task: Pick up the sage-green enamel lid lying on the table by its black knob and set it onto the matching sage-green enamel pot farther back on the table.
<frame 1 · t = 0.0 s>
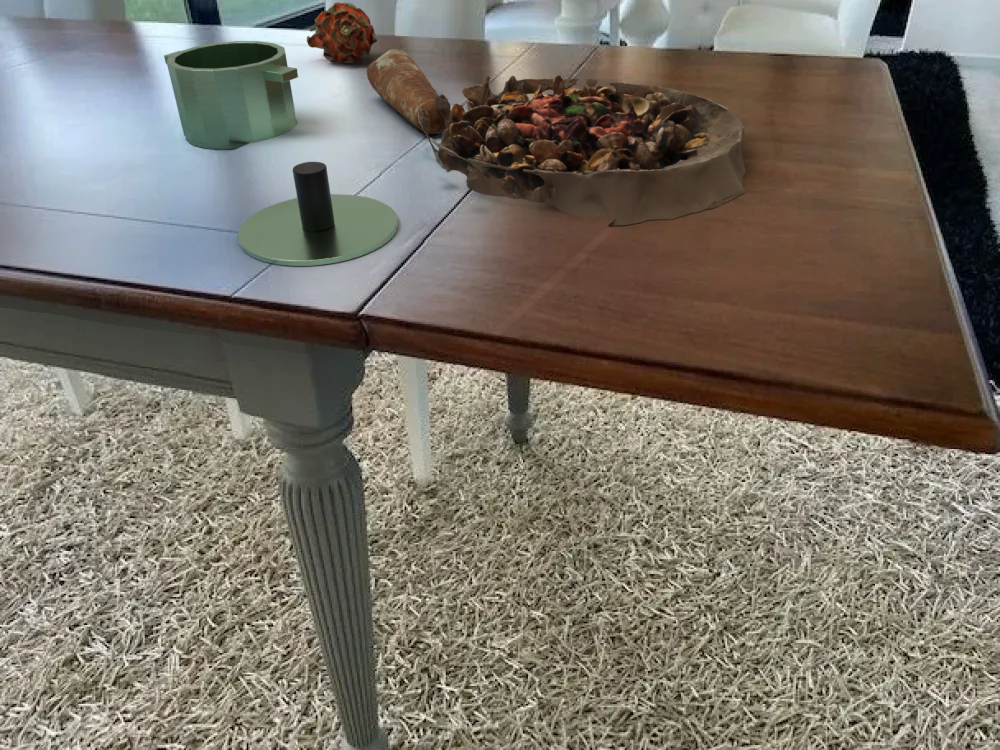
pot: (242, 130, 99), on the table
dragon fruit: (344, 61, 124), on the table
lid: (319, 230, 74), point 1 cm above the table
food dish: (583, 157, 89), on the table, touching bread
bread: (417, 115, 102), on the table, touching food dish
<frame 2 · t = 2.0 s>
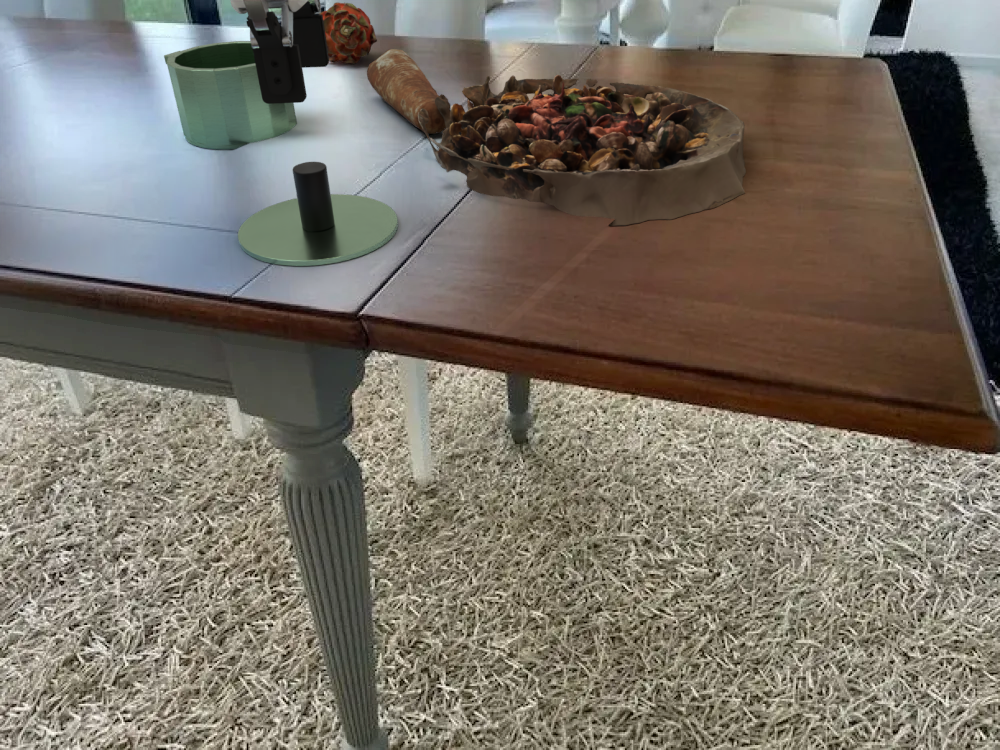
hand: (298, 83, 67), 13 cm above the table, tool pointing down, fingers open, 9 cm apart
nothing on the table moved.
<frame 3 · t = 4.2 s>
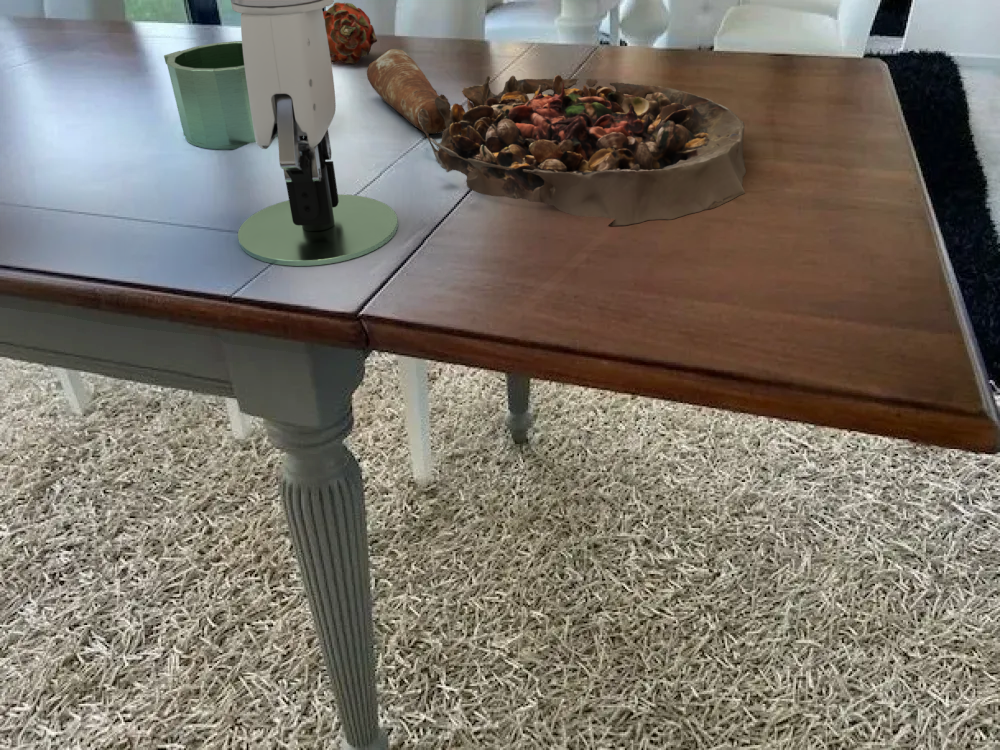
hand: (316, 213, 73), 2 cm above the table, tool pointing down, fingers closed on lid, 2 cm apart
lid: (319, 230, 74), point 1 cm above the table, touching gripper
everything else where it was.
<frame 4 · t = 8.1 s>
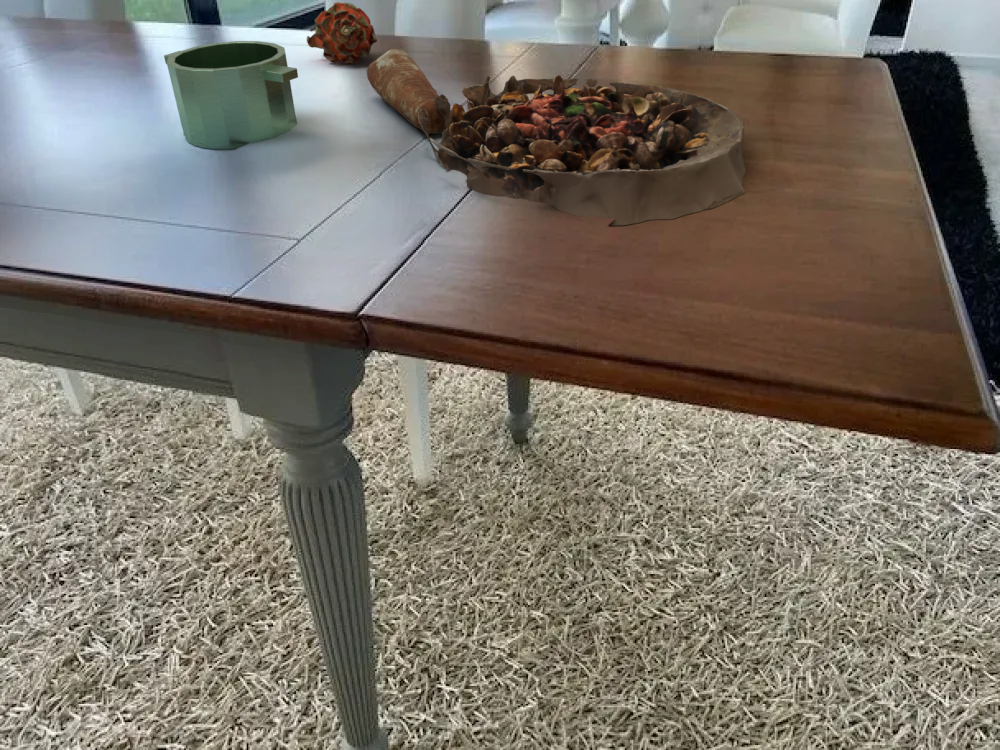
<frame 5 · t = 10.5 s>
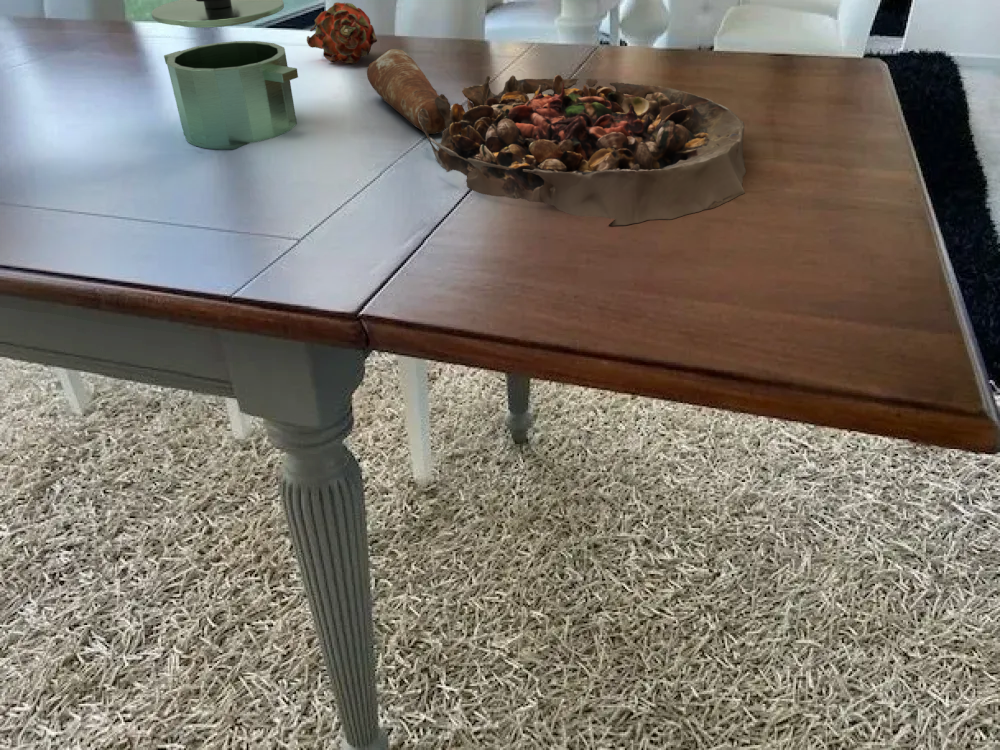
lid: (219, 11, 92), point 13 cm above the table, touching gripper
everything else where it was.
when the fingers open (10 cm above the table, at t = 11.9 s): lid stays where it is, resting on pot.
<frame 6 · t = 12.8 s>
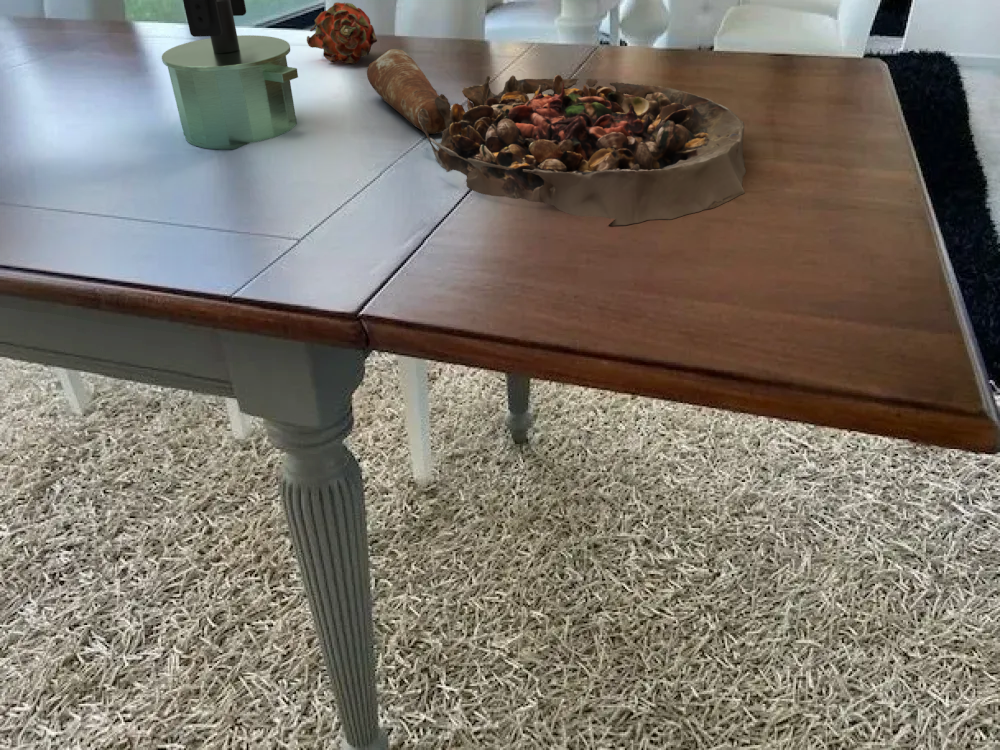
hand: (220, 25, 92), 12 cm above the table, tool pointing down, fingers open, 9 cm apart
lid: (227, 54, 94), point 8 cm above the table, touching pot
everything else where it was.
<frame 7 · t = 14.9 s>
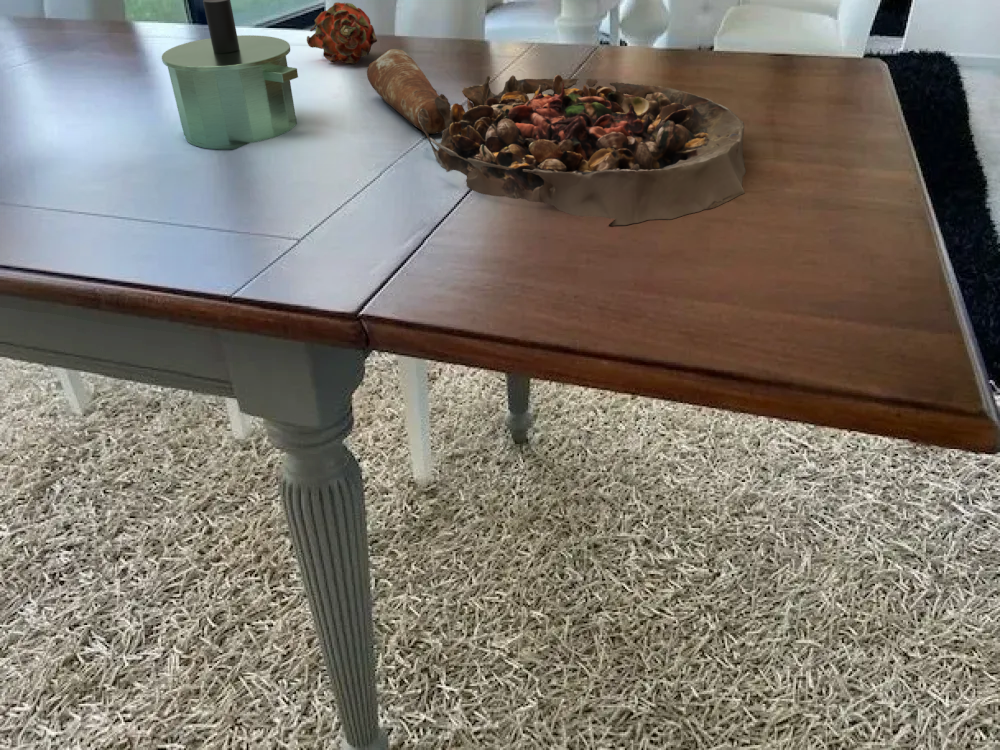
nothing on the table moved.
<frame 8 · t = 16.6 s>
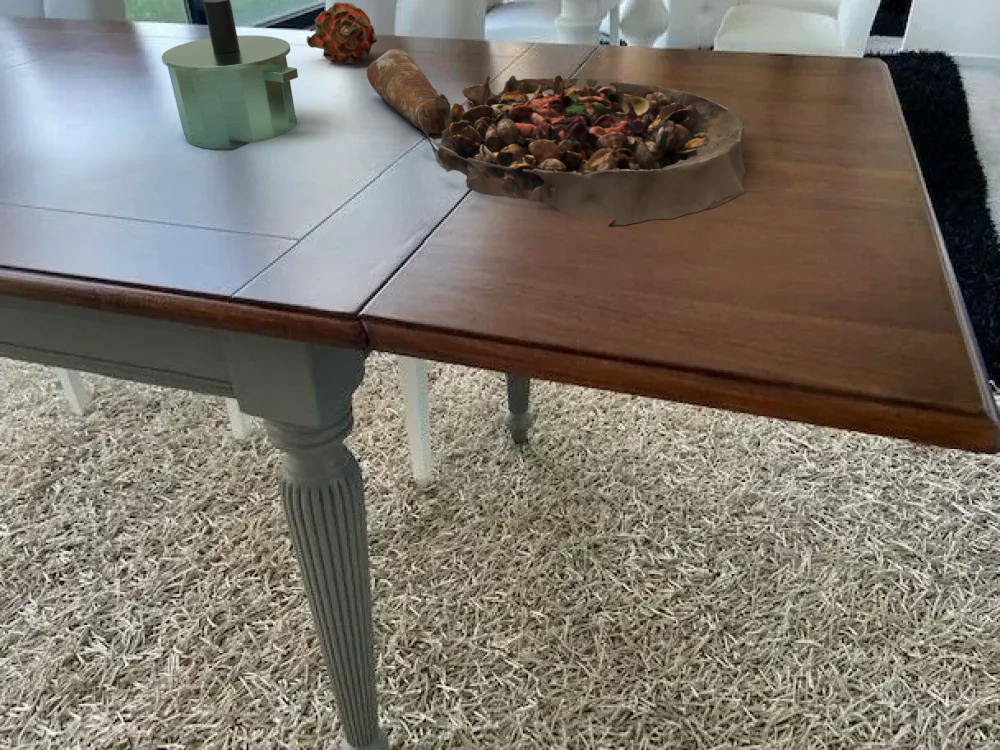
nothing on the table moved.
at the end: lid 0.1 cm off-centre on the pot, point 8.5 cm above the pot's base; lid tilted 0°; the gripper is holding nothing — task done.
